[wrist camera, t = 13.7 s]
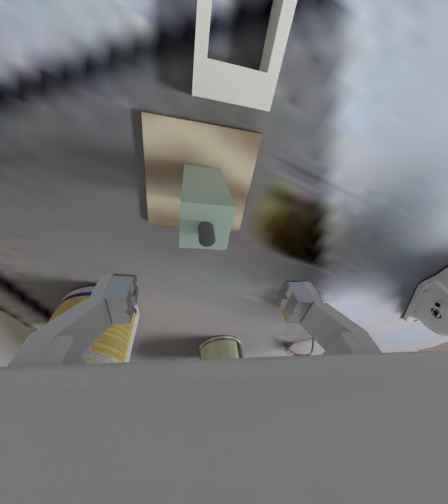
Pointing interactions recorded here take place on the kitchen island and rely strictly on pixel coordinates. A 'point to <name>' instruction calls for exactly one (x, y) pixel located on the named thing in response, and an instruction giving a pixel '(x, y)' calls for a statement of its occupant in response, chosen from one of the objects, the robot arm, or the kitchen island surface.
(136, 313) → the supplement tub
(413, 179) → the kitchen island surface
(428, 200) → the kitchen island surface
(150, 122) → the coaster
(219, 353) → the coffee can
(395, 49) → the kitchen island surface
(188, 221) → the grey-green tall block
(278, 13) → the power strip
